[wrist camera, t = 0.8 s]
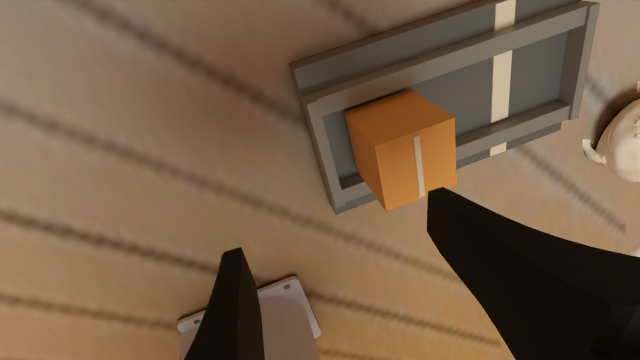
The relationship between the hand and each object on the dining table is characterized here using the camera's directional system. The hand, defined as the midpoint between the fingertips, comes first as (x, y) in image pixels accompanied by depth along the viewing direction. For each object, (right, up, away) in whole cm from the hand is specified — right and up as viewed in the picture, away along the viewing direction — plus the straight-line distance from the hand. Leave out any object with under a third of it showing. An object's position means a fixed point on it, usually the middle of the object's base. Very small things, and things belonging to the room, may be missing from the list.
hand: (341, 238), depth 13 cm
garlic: (+24, +6, +16) cm, 29 cm away
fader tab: (+3, +5, +8) cm, 10 cm away
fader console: (+6, +7, +9) cm, 13 cm away
